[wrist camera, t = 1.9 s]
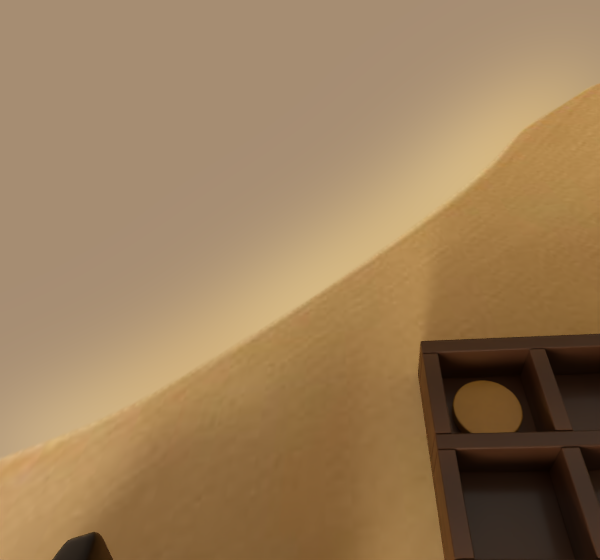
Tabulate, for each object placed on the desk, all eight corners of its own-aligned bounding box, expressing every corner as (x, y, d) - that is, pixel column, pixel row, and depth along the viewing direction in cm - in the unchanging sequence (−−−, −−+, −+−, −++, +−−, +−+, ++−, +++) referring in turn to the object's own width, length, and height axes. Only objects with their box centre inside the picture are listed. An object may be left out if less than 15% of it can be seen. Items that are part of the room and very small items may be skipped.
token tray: (831, 788, 16) (895, 787, 14) (475, 774, 17) (487, 771, 15) (629, 365, 26) (649, 331, 24) (417, 373, 27) (420, 340, 25)
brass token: (531, 407, 24) (534, 400, 24) (503, 458, 23) (506, 452, 22) (469, 376, 26) (470, 369, 25) (439, 422, 24) (440, 416, 24)
